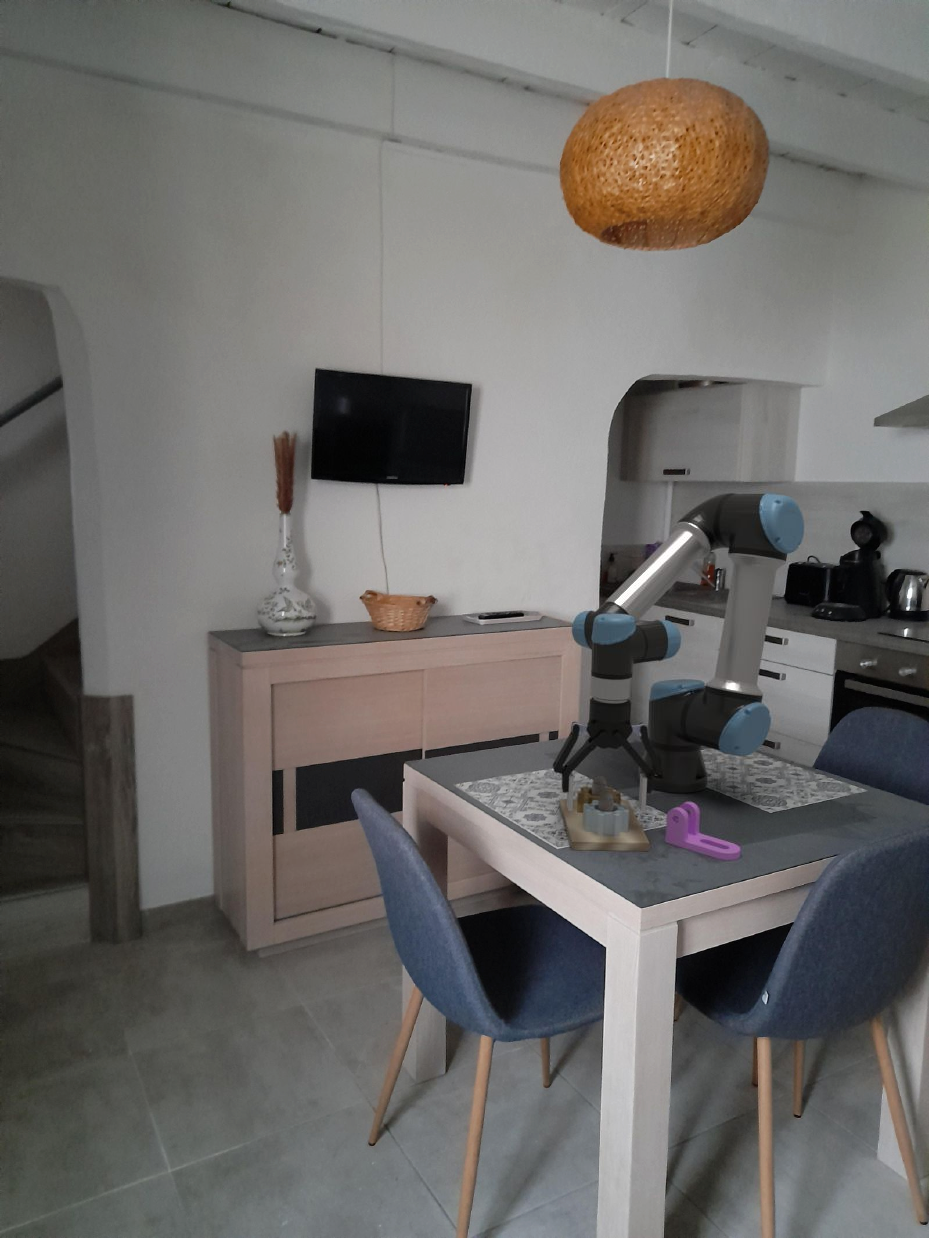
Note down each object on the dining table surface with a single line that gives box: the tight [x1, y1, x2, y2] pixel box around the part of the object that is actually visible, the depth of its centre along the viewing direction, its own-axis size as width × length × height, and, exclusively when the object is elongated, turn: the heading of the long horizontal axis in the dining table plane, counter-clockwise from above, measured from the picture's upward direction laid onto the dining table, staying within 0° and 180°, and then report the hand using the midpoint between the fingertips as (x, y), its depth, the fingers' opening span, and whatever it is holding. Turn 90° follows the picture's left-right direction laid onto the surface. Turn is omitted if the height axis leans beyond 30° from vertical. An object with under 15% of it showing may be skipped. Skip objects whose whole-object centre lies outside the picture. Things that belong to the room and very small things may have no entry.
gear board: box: [558, 775, 651, 852], centre depth 170 cm, size 14×22×9 cm, turn 0°
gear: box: [583, 800, 629, 836], centre depth 166 cm, size 8×8×4 cm
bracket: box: [665, 801, 741, 861], centre depth 161 cm, size 13×6×7 cm, turn 47°
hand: (605, 809), depth 166 cm, fingers open, 13 cm apart
